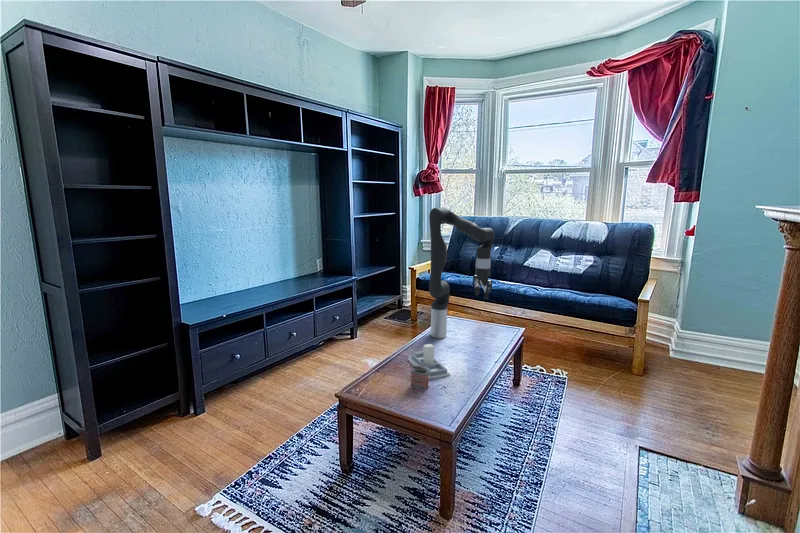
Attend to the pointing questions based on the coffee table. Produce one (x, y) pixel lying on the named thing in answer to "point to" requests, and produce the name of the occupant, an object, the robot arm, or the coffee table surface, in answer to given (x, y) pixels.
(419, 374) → the lighter
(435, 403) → the coffee table surface
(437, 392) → the coffee table surface
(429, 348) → the clay bar
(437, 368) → the rack
